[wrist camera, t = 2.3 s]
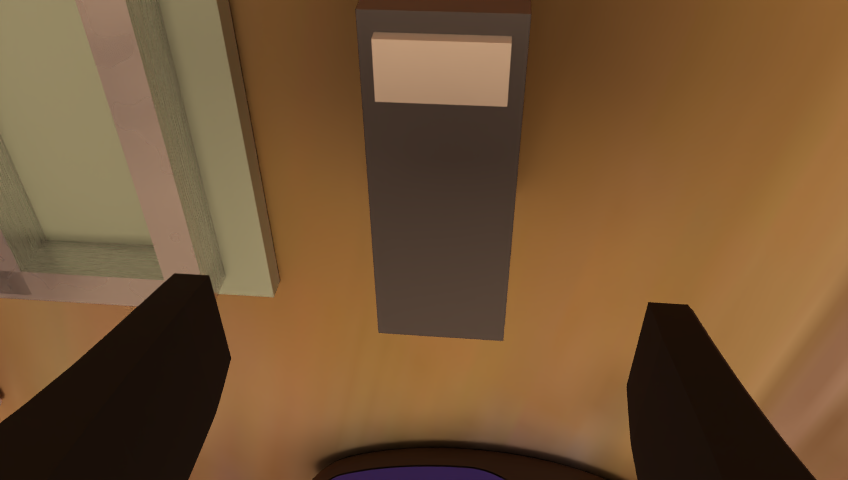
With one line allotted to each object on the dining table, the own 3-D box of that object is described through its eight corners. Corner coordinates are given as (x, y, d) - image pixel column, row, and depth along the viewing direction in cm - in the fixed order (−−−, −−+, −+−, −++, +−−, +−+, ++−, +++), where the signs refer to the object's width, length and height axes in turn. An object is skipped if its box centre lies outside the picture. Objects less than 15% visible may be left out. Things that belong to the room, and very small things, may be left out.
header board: (4, 265, 26) (-35, 312, 24) (-336, -419, 14) (-462, -429, 12) (279, 281, 25) (260, 331, 23) (150, -430, 14) (91, -444, 12)
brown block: (407, 190, 22) (376, 342, 17) (399, -88, 17) (352, 16, 12) (505, 195, 22) (503, 350, 17) (526, -86, 17) (531, 21, 12)
